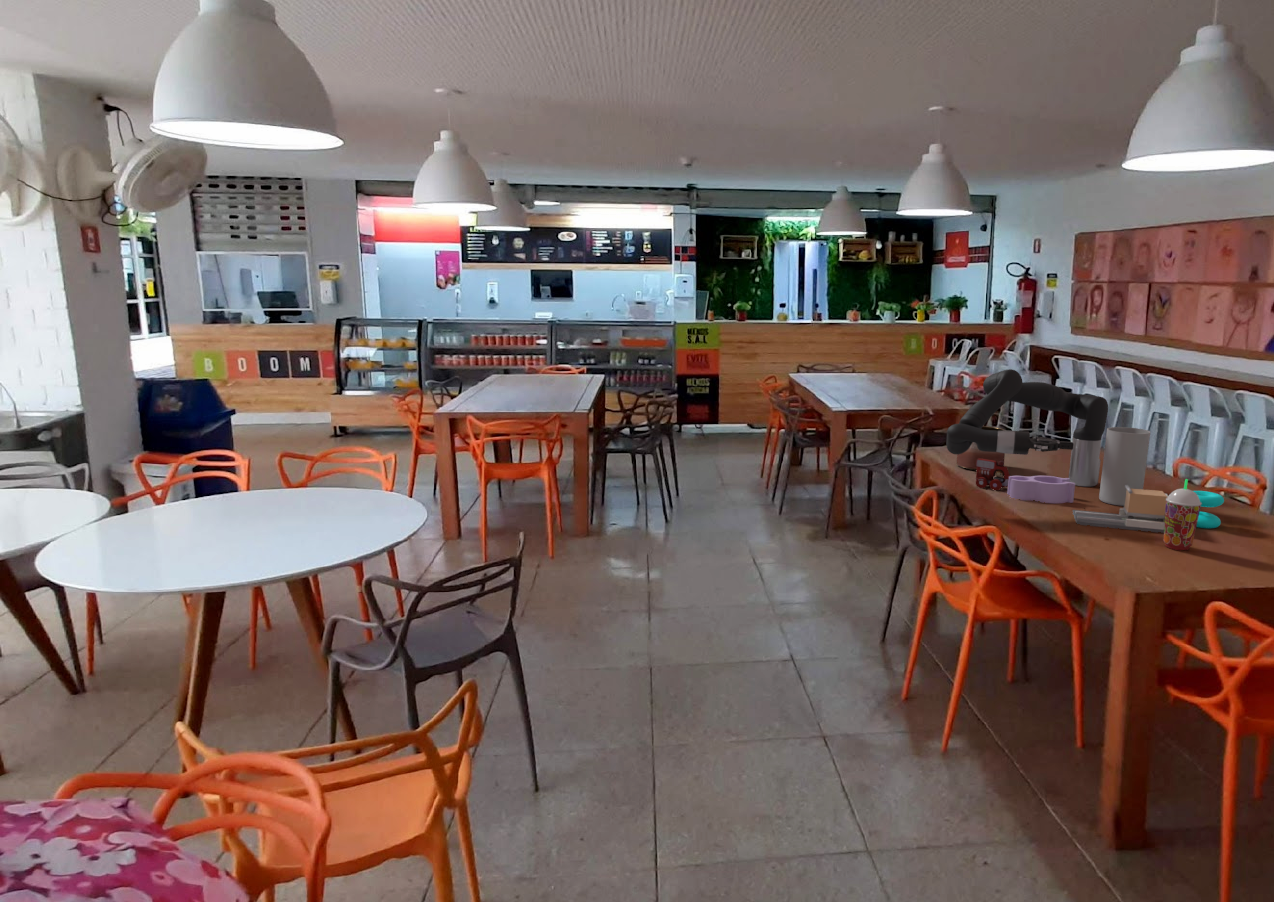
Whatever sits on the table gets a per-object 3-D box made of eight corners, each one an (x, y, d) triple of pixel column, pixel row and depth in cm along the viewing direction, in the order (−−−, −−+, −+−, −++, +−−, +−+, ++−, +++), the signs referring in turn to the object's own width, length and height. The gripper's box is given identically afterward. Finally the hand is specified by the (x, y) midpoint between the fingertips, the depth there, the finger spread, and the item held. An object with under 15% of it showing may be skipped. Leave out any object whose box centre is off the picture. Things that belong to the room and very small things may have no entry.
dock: (1072, 512, 263) (1075, 486, 261) (1162, 521, 253) (1166, 493, 251) (1076, 524, 250) (1079, 496, 248) (1171, 533, 240) (1175, 504, 238)
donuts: (1184, 488, 254) (1223, 492, 249) (1180, 518, 256) (1218, 523, 251) (1185, 495, 246) (1226, 499, 240) (1181, 526, 248) (1221, 531, 242)
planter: (1006, 465, 330) (1010, 428, 326) (999, 474, 315) (1003, 435, 312) (961, 460, 339) (963, 424, 336) (952, 469, 324) (955, 430, 321)
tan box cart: (1121, 514, 254) (1125, 484, 252) (1159, 517, 250) (1163, 487, 248) (1125, 520, 247) (1128, 490, 245) (1164, 524, 243) (1168, 493, 241)
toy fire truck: (1005, 492, 288) (1007, 464, 286) (970, 486, 297) (973, 459, 295) (1012, 489, 293) (1015, 461, 291) (978, 483, 302) (980, 456, 299)
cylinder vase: (1102, 505, 271) (1111, 432, 266) (1095, 496, 283) (1103, 426, 278) (1145, 508, 267) (1154, 434, 262) (1136, 499, 279) (1145, 428, 273)
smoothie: (1152, 543, 232) (1161, 476, 228) (1179, 542, 232) (1189, 475, 228) (1174, 552, 224) (1183, 483, 219) (1202, 551, 224) (1212, 482, 220)
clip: (1011, 501, 277) (1013, 482, 275) (1004, 492, 289) (1006, 473, 287) (1075, 505, 272) (1077, 485, 271) (1065, 495, 284) (1067, 476, 283)
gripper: (1014, 434, 252) (1076, 438, 246) (1012, 427, 264) (1072, 430, 258) (1012, 457, 254) (1074, 461, 247) (1011, 449, 266) (1069, 453, 259)
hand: (1073, 445), depth 252 cm, fingers closed
